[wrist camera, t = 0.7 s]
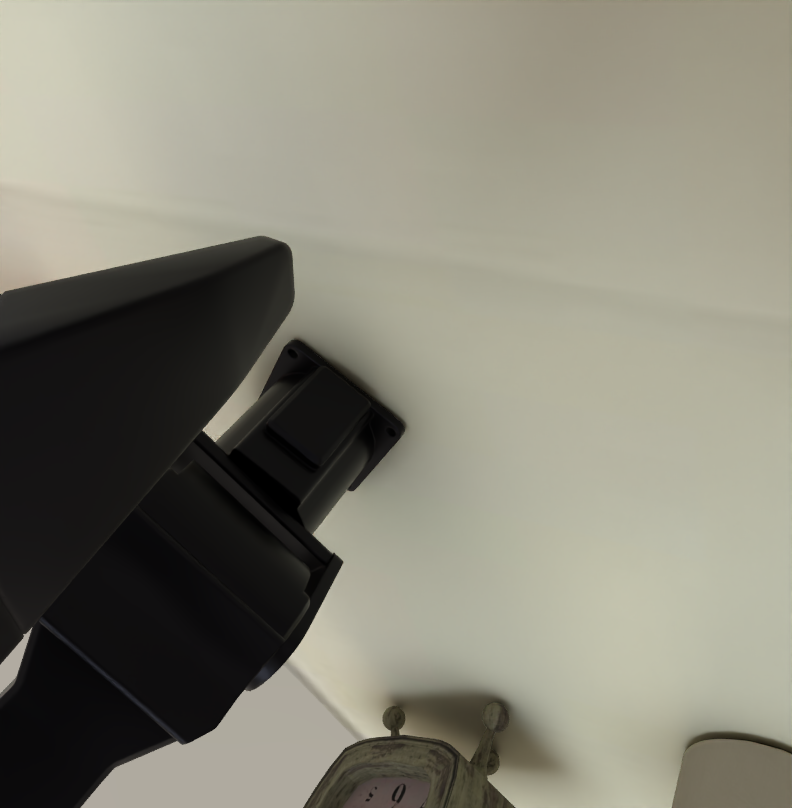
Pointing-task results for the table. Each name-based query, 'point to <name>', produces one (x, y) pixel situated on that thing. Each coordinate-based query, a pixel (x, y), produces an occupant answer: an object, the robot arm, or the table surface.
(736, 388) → the table surface
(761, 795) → the travel mug
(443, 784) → the tabletop clock
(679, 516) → the table surface
